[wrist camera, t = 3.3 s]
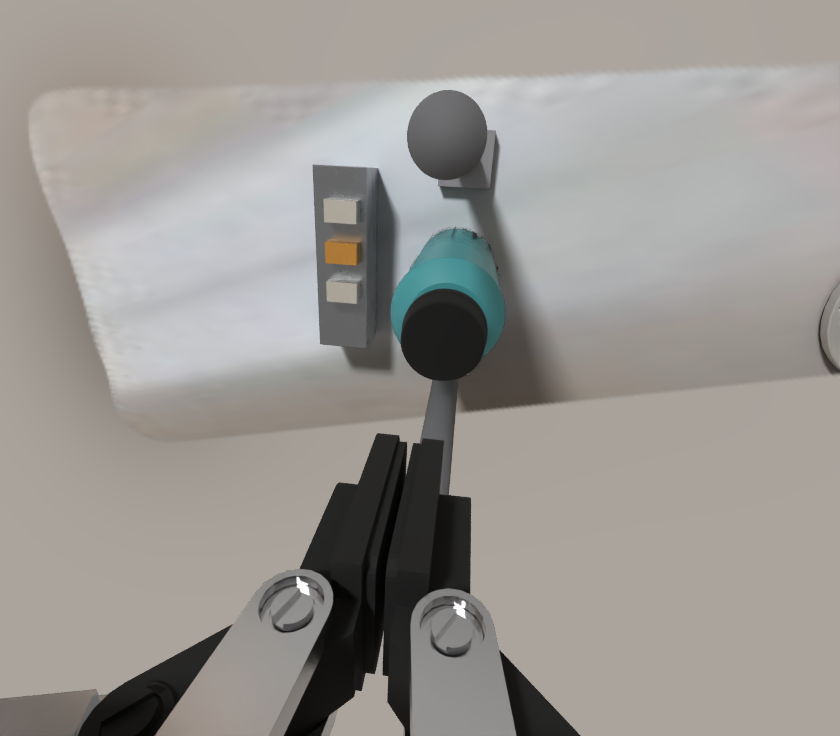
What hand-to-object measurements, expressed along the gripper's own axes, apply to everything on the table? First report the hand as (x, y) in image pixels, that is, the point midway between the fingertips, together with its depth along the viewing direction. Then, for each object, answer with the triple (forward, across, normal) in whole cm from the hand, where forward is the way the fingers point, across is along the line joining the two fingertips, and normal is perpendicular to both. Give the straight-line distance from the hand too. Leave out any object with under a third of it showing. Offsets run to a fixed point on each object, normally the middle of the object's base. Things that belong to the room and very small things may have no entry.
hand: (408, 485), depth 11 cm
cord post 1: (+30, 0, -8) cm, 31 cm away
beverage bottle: (+30, 0, 0) cm, 30 cm away
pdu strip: (+30, +9, 0) cm, 31 cm away
